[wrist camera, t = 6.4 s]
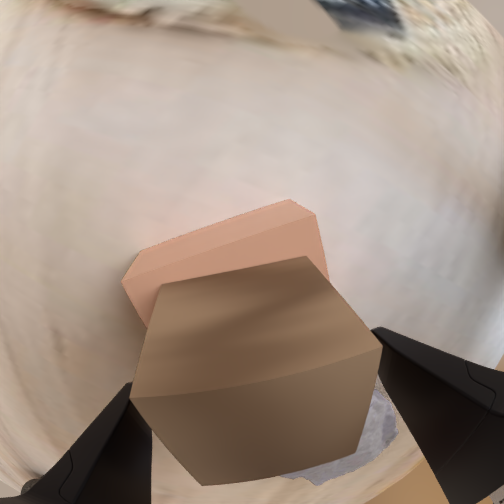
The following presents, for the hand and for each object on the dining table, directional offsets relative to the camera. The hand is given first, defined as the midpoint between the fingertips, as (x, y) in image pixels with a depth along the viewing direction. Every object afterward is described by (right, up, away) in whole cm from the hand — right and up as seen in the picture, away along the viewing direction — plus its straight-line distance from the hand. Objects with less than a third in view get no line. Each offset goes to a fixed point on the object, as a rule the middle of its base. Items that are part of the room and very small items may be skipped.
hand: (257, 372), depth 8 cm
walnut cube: (0, +1, +2) cm, 2 cm away
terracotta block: (-1, +2, +5) cm, 6 cm away
